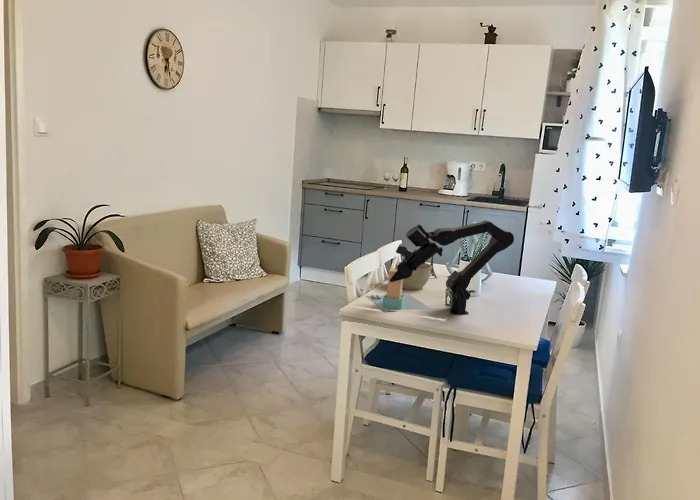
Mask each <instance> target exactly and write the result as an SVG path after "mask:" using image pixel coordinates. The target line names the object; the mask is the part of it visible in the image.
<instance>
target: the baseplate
mask: <svg viewBox="0 0 700 500" xmlns="http://www.w3.org/2000/svg"><path fill="white" fill-rule="evenodd" d="M365 297H366V299H368V300H369V301H371V302H372V303H374V304H375V305H376V306H378V307H379V308H381V309H380V311H382V312H383V313H397V312H398V311H403V310H404V311H405V310H408V311H409V310H428V309H429V310H431V309H432V308H431V307H430V306H428V305H426V304H425V303H424V302H422V301H420V300H419V299H417V298H415V297H413V296H412V295H411V294H402V297H401V299H396V298H388V297H387V292H386V293H385V295H383V294H382V295H380V294H376V295H375V294H371V295H365Z"/></svg>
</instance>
